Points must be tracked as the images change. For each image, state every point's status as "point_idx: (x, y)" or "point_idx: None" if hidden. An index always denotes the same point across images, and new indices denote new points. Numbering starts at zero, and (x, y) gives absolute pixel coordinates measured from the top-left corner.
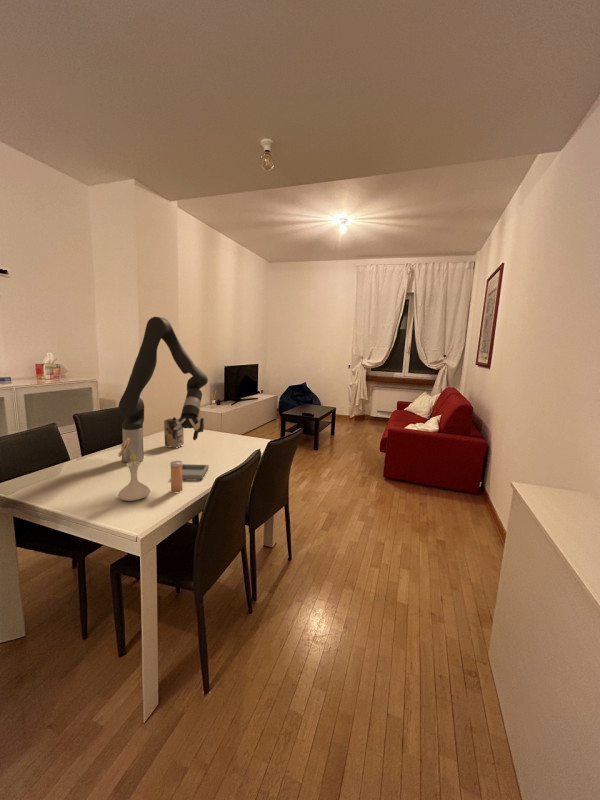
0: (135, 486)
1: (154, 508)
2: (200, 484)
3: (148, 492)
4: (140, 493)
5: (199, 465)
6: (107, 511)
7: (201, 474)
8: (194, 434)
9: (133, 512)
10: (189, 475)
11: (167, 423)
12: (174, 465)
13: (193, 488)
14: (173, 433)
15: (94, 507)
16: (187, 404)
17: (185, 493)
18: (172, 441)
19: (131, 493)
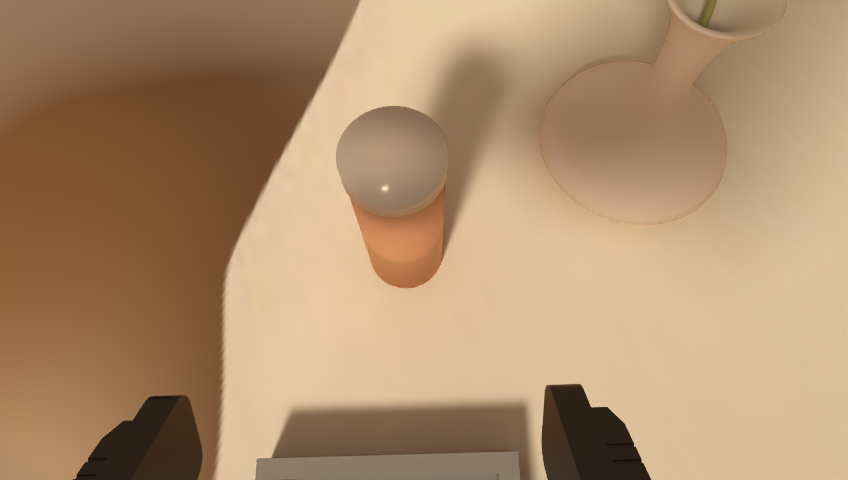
0: (623, 78)
1: (448, 48)
2: (268, 372)
3: (544, 134)
4: (571, 86)
5: None
6: (658, 10)
7: (263, 469)
8: (130, 449)
9: (530, 10)
10: (369, 455)
11: None
12: (392, 111)
13: (304, 298)
14: (628, 469)
15: (752, 38)
16: None
17: (338, 221)
18: None
19: (616, 64)
